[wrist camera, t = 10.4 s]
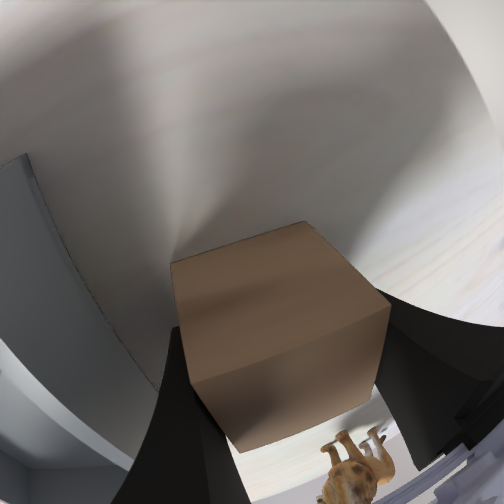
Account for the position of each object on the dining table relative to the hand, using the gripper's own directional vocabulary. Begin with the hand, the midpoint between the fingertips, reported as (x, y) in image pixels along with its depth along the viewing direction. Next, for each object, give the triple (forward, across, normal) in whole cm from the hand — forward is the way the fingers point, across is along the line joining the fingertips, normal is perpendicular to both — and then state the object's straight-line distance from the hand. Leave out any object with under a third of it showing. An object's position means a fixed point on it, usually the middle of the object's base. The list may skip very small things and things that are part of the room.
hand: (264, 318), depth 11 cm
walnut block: (+1, 0, 0) cm, 1 cm away
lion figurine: (+2, -6, +24) cm, 25 cm away
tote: (+1, +14, +2) cm, 14 cm away
